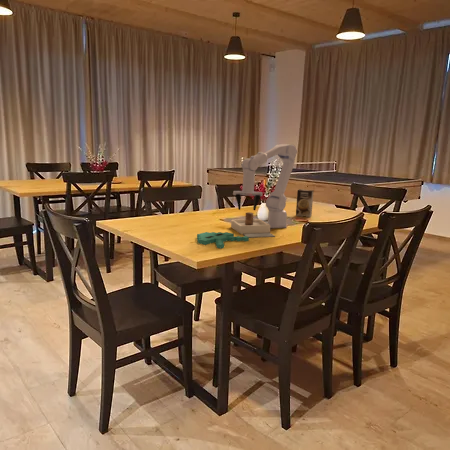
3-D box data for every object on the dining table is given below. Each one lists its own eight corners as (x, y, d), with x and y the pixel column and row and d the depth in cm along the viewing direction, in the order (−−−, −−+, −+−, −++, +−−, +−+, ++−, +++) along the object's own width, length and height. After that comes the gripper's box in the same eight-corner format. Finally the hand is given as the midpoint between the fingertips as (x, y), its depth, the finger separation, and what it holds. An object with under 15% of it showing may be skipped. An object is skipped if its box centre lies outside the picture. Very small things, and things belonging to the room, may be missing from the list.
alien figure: (248, 241, 189) (215, 234, 201) (248, 236, 188) (215, 229, 201) (220, 249, 174) (186, 241, 186) (220, 244, 173) (186, 236, 185)
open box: (258, 226, 220) (259, 218, 219) (269, 232, 205) (270, 225, 204) (231, 227, 216) (231, 219, 215) (240, 234, 201) (240, 226, 200)
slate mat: (269, 233, 204) (269, 232, 204) (274, 236, 197) (274, 235, 197) (242, 234, 200) (242, 233, 200) (247, 237, 194) (247, 237, 193)
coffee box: (295, 216, 253) (297, 189, 250) (297, 214, 259) (299, 188, 255) (310, 217, 250) (312, 191, 246) (311, 215, 256) (313, 189, 252)
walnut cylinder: (251, 223, 214) (251, 212, 213) (254, 225, 210) (254, 213, 209) (244, 223, 213) (244, 212, 212) (246, 225, 209) (247, 213, 208)
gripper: (235, 183, 199) (233, 210, 202) (264, 184, 201) (262, 211, 204) (233, 181, 206) (231, 208, 209) (261, 182, 208) (259, 209, 211)
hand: (246, 209), depth 207 cm, fingers open, 7 cm apart
